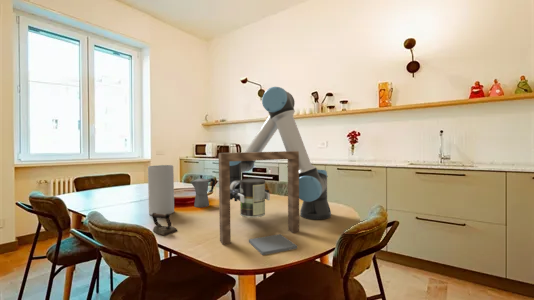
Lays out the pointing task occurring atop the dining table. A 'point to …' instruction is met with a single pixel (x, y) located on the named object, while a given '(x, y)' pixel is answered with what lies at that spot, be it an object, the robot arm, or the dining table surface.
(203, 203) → the coffeepot
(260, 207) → the coffee can
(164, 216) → the clothes iron
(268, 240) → the slate mat
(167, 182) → the cylinder vase
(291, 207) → the walnut archway
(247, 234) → the dining table surface
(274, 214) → the dining table surface
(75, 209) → the dining table surface
